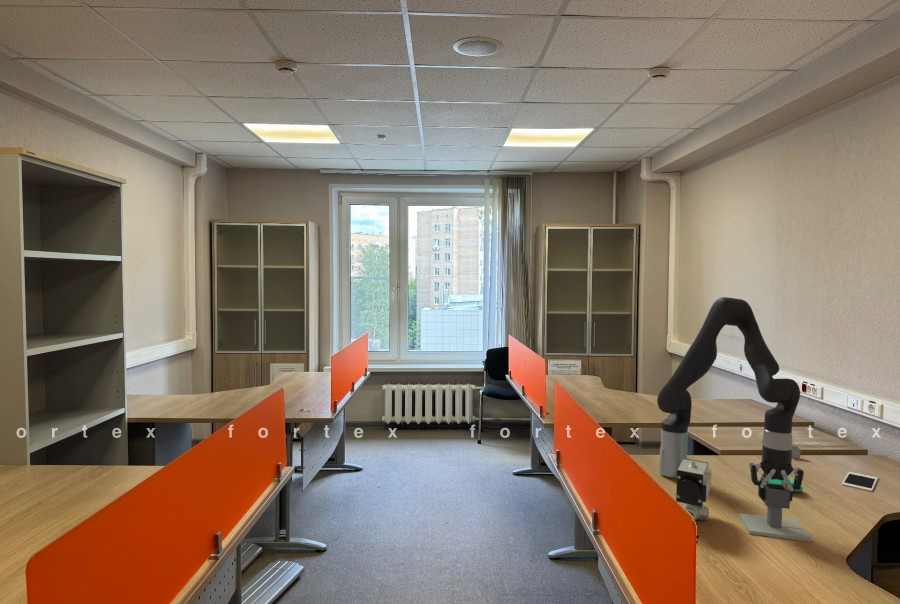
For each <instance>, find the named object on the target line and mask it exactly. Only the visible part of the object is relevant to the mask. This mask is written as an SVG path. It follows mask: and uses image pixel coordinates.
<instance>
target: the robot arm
mask: <svg viewBox="0 0 900 604" xmlns="http://www.w3.org/2000/svg"><path fill="white" fill-rule="evenodd" d="M724 326H732V327H737V328H738V330H739V331H740V332H741V333H742V336H743V338H744V344H743V354H744V356H745V359H746V361H747V363H748V365H749V366H750V368H751V370H752V371H753V373H754V377H755V378H754V379H755V382H756V387H757V391H758V394H759V395H760V397H761V398H762V399H763V400H764V401H766V402H768V403H771V404H772V403H773V404H775V403H776V406H775V407H773V408H770V409H767V410H766V411H765V412H764V420H763V422H764V423H763V424H764V425H763V432H762V440H761V443H762V447H761V451H762V452H761V461H760V463H753V462H750V463H749V470H750V477H751V480H750V481H751V482H752V483H753V485H755V486H757V489H758V491H757V494H758V497H759V498H760V500H761V501H762V500H765V488H764V487H765V486H766V484H767V483H768V482H769V481H770V479H773V480H774V479H778V480H783V481H784V483H785V485H786V487H787V488H788V490H789V491H790V502H793V492H795V491H794V490H800V489H801V485H802V482H803V478H804V474H805V472H804V471H803V469H801V468H800V467H793V466H792V460H793V458H792V445H793V433H792V432H793V430H792V429H793V418H794V415H795V413H796V410H797V407H798V404H799V402H800V399H801V388H800V385H799V384H798V382H797V381H795V380H794V379H791V378H774V376H775V375H777V374H778V373H779V372H780V365H779V363H778V361H777V360H776V358H775V356H774V355H773V353H772V352H771V350H770V349H769V347H768V345H767V343H766V342H765V339H764V338H763V335H762V333H761V332H762V331H761V329H760V327H759V324H758V321H757V320H756V317H755V314H754V312H753V310H752V307H751V305H750V304H749V303H748V301H746V300H744V299H742V298H741V299H740V298H734V297H727V296H724V297H719V298H717V299H716V300H715V301H714V302H713V303H712V305H711V307H710V309H709V311H708V313H707V316H706V317H705V319H704V322H703V324H702V327H701V328H700V330H699V332H698V333H697V335H696V337H695V339H694V341H693V342H692V343H691V345H690V346H689V348H688V350H687V351H686V353H685V355H684V356H683V358H682V360H681V361H680V363H679V365H678V366H677V368H676V369H675V371H674V373H673V374H672V376H671V377H670V378H669V380H668V381H667V382H666V384H665V385H663V387H662V388H661V389H660V391H659V393H658V395H657V400H656V402H657V406H658V408H659V410H660V411H661V412H663V413H666V414H668V416H667V417H666V418H664V419H663V420H662V421H661V429H660V430H661V431H660V432H661V433H660V434H661V435H660V446H659V469H658V470H659V474H660V476H661V477H666V478H671V479H677V470H678V469H679V467H680V465H681V463H682V461H683V460H684V458H685V459H688V457H687V456H688V431H689V430H688V428H689V427H690V424H691V417H692V407H693V405H692V396H691V393H690V392H689V390H688V388H690V386H692V385H693V384H695V383H696V382H698V380H700V379H702V378H703V377H704V376H705V375H706V374H707V373H708V372H709V371H710V369H711V367H712V366H713V365H714V363H715V361H716V360H717V356H718V347H717V339H718V336H719V334H720V332H721V330H722V329H723V328H724ZM760 469H761V470H762V471H763V472H764V473H763V472H762V474H761V476H760V479H758V472H759V471H760ZM792 473H793V475H794V479H793V481H794V483H793V484H791V482H790V480H789V478H790V477H789V476H790V475H791V474H792Z"/></svg>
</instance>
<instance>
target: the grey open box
mask: <svg viewBox="0 0 900 604" xmlns="http://www.w3.org/2000/svg"><path fill="white" fill-rule="evenodd" d="M764 488H765V500H762V499H761V501H762V502H763V503H764V505H765V506H766V507H768V506H770V507H778V508H782V509H790V506H791V505H790V503H791V501H790V491H789V490H788V488H787V487H786V485H784V484H775V483H767V484H766V486H765V487H764Z"/></svg>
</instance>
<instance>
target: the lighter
mask: <svg viewBox="0 0 900 604" xmlns="http://www.w3.org/2000/svg"><path fill="white" fill-rule="evenodd" d="M792 459H794V460H800V459H801V448H800V447H799V446H798V445H795V444H792Z"/></svg>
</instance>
